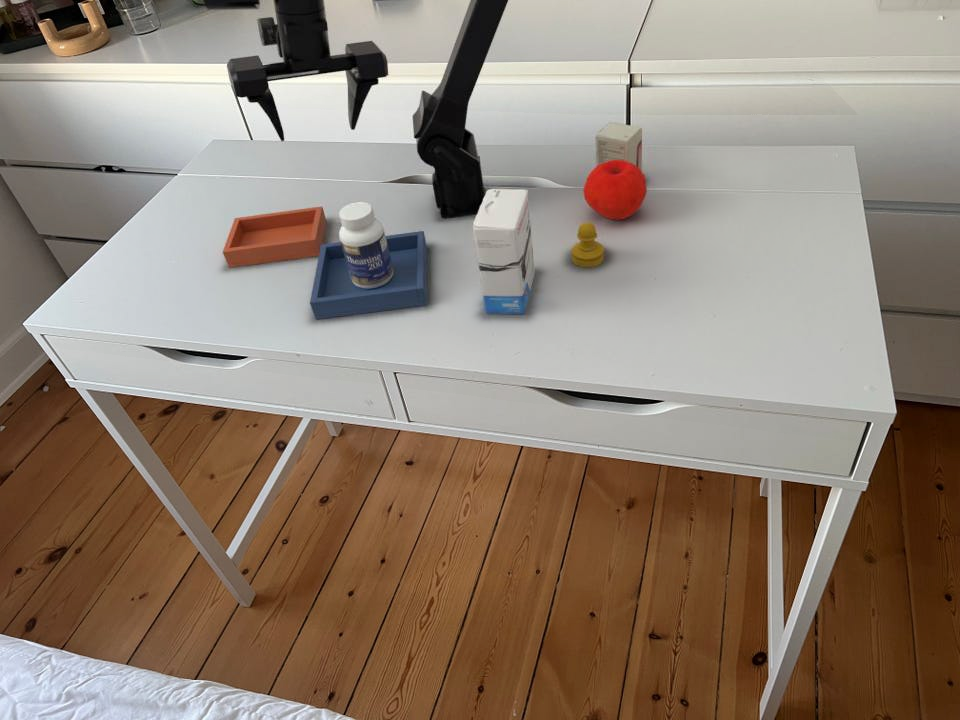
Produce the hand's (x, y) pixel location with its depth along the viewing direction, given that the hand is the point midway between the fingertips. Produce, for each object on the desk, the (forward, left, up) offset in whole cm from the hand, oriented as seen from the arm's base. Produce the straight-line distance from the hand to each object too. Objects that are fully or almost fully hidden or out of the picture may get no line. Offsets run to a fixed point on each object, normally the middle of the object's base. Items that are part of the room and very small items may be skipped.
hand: (317, 134), depth 100 cm
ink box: (-22, +21, -14) cm, 34 cm away
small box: (-39, -1, -14) cm, 42 cm away
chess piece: (-32, +16, -14) cm, 39 cm away
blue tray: (-5, +15, -14) cm, 21 cm away
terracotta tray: (+9, +3, -14) cm, 16 cm away
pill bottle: (-5, +15, -13) cm, 21 cm away
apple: (-37, +7, -14) cm, 40 cm away
